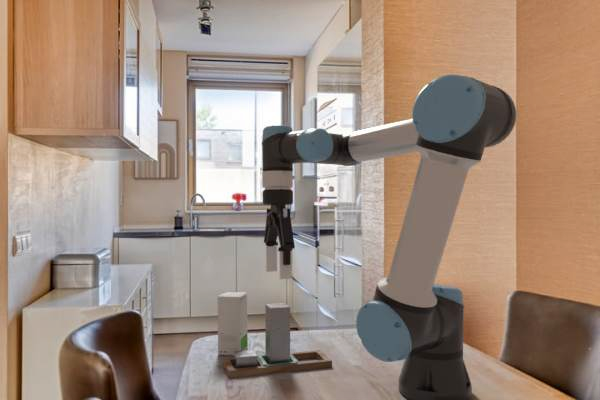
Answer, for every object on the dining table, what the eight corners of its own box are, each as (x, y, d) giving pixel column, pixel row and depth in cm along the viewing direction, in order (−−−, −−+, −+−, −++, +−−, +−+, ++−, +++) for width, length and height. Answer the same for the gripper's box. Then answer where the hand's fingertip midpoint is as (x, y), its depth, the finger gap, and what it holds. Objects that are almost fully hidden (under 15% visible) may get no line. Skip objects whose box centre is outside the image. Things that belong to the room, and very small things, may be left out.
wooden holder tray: (332, 366, 123) (332, 359, 123) (229, 377, 115) (229, 369, 115) (319, 355, 132) (319, 348, 132) (223, 364, 124) (223, 357, 124)
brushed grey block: (290, 368, 122) (290, 307, 122) (270, 370, 120) (270, 308, 120) (284, 361, 127) (284, 302, 127) (265, 363, 125) (265, 304, 125)
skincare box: (240, 356, 131) (240, 297, 131) (215, 355, 132) (215, 296, 132) (248, 347, 139) (248, 291, 139) (225, 346, 140) (225, 290, 140)
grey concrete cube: (257, 372, 119) (257, 355, 119) (236, 374, 118) (236, 357, 118) (254, 365, 124) (254, 349, 124) (233, 367, 123) (233, 351, 123)
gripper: (307, 187, 113) (308, 281, 113) (279, 190, 137) (280, 268, 136) (275, 187, 110) (276, 283, 110) (252, 190, 134) (253, 269, 134)
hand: (278, 275), depth 123 cm, fingers open, 13 cm apart
